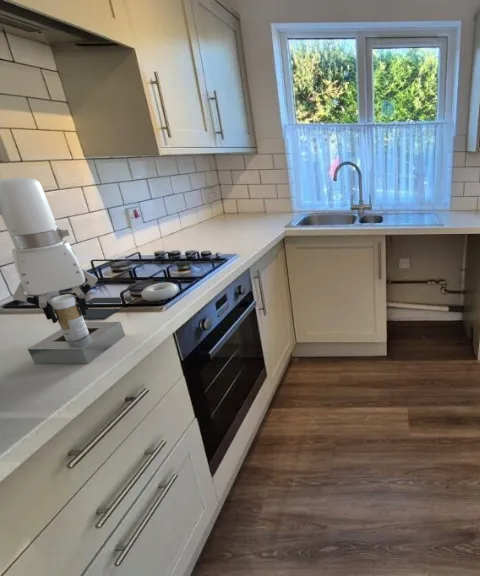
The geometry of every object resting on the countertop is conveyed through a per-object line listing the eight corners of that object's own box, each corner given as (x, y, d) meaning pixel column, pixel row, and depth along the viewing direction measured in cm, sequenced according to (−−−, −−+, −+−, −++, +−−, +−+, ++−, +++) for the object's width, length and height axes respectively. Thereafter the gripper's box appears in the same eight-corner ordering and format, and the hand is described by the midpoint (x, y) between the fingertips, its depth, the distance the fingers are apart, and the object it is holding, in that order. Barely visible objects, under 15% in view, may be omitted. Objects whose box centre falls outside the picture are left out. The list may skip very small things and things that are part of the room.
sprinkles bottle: (67, 351, 85) (44, 299, 80) (89, 342, 89) (69, 292, 83) (76, 356, 83) (53, 303, 78) (98, 346, 87) (78, 295, 81)
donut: (138, 298, 113) (149, 306, 107) (135, 287, 112) (145, 295, 106) (172, 288, 120) (184, 295, 114) (170, 278, 119) (181, 285, 112)
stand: (34, 364, 80) (27, 348, 79) (78, 335, 92) (72, 322, 90) (87, 363, 80) (81, 348, 79) (125, 335, 91) (120, 321, 90)
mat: (55, 319, 100) (55, 318, 100) (94, 298, 113) (93, 297, 113) (104, 319, 100) (104, 318, 100) (137, 298, 113) (137, 297, 113)
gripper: (85, 229, 83) (111, 300, 90) (-19, 244, 73) (19, 324, 80) (90, 234, 78) (116, 310, 85) (-22, 252, 68) (19, 336, 75)
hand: (69, 316), depth 82 cm, fingers closed on sprinkles bottle, 4 cm apart
